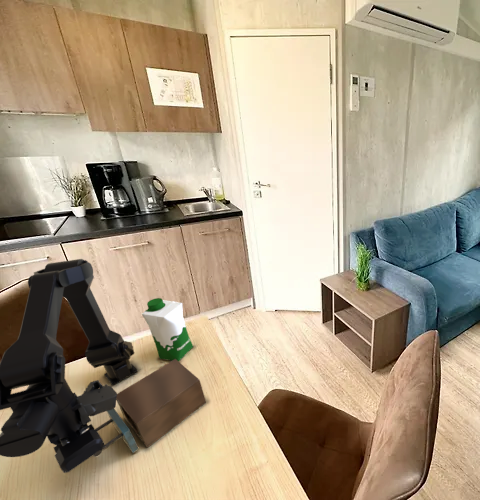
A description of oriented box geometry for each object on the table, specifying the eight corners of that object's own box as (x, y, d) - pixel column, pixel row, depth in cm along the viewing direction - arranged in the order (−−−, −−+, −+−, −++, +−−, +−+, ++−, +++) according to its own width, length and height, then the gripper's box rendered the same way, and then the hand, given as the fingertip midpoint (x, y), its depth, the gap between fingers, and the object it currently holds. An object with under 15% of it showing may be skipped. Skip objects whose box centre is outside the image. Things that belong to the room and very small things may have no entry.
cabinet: (147, 447, 67) (136, 423, 63) (125, 418, 73) (114, 395, 70) (206, 402, 78) (199, 379, 74) (182, 380, 84) (175, 358, 81)
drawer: (104, 474, 61) (93, 455, 58) (86, 443, 67) (75, 424, 64) (191, 408, 75) (185, 390, 72) (170, 387, 81) (163, 370, 78)
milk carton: (175, 341, 99) (159, 293, 91) (197, 345, 97) (184, 296, 89) (154, 360, 91) (135, 309, 83) (179, 364, 89) (162, 313, 81)
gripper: (122, 399, 57) (144, 447, 63) (90, 358, 66) (112, 403, 73) (45, 446, 48) (80, 497, 55) (21, 391, 58) (53, 440, 64)
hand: (84, 453), depth 62 cm, fingers closed, pressing on drawer
